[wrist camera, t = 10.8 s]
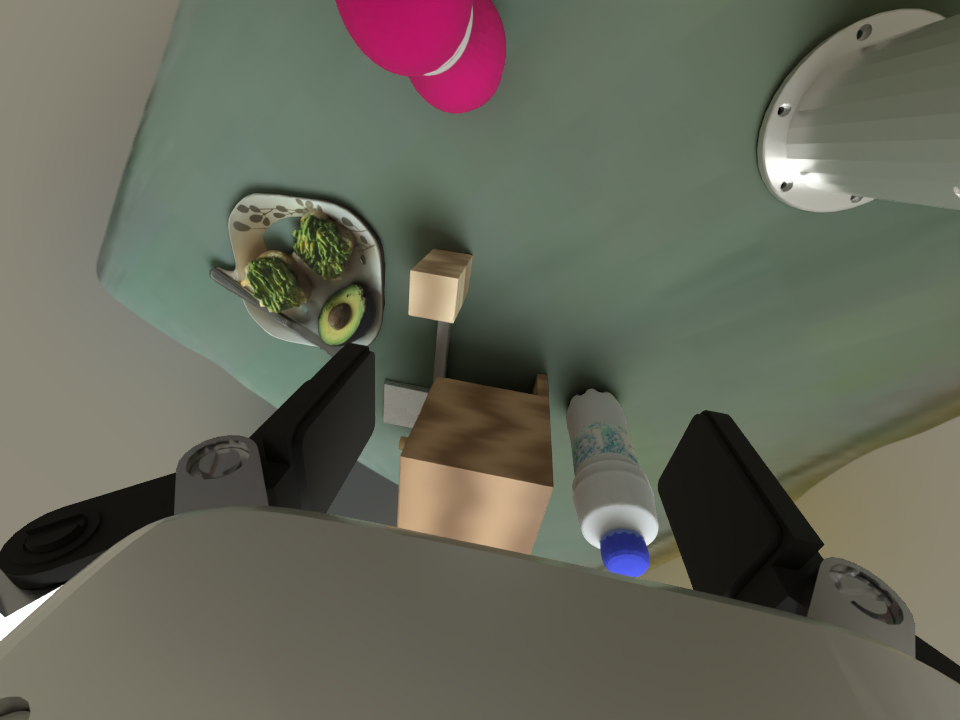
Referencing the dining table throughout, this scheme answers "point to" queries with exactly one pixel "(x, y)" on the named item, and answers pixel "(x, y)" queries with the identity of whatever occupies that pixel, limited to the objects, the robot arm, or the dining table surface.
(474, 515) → the wooden box
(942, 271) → the dining table surface
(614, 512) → the bottle
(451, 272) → the beige mallet
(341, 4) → the pepper mill
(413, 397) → the gray rectangular block
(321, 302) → the salad plate
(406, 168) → the dining table surface
